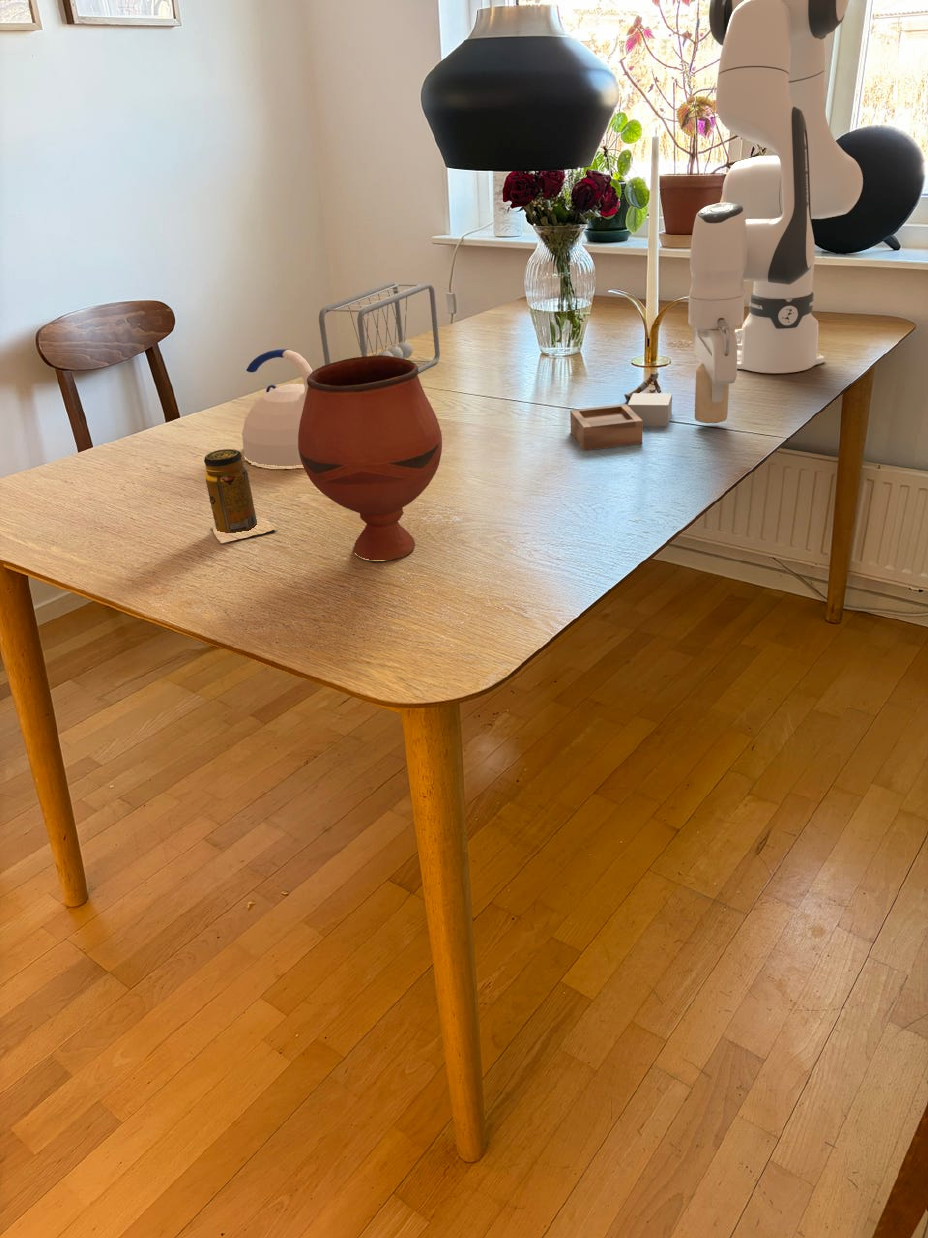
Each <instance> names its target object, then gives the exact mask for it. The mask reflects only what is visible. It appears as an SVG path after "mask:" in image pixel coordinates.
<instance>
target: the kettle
mask: <svg viewBox="0 0 928 1238" xmlns="http://www.w3.org/2000/svg"><path fill="white" fill-rule="evenodd" d="M276 358H281V359H282V358H283V359H284V358H285V359H287V360H290V361H291V362H292V363H293V364H294V365H295V366H296V368H297V369H298V371H299V372H300V375H301V377H302V380H303V383H289V384H288V383H287V384H284V385H281V386H280V385H279V386H278V387H277V386H276V385H274V384H271V385H269V386H267V387H266V389H265V391H266V392H265V393H264V394H263V395H262V396H261V397H260V398H259V399H258V400H257V401H256V402H254V404H253V405H252V407H251V409H250V411H249V412H248V413H247V415H246V417H245V420H244V423H243V429H242V433H241V437H242V448H243V455H244V456H245V457H246V458H247V459H248V460H250V461H252V462H256V463H258V464H264V465H265V464H266V465H275V466H276V465H277V466H294V465H295V466H296V465H303V464H302V462H301V459H300V455H299V450H298V432H299V424H300V420H301V415H302V411H303V407H304V402H305V398H306V394H307V389H308V385H307V378H308V376H309V375H310V374H311V373H312V372H313V371H314V370H313V369H312V368H311V366H310V364H309V363H308V361H307V360H306V359H305V358H304V357H303V356H302V355H301V354H300V353H299V352H296V351H292V350H290V349H285V348H284V349H283V348H282V349H274V350H269V351H266V352H264V353H262V354H260V355H258V356H257V357H256V358H254V359H253V360H252V361H251V362H250V363H249V365H248V367H247V368H246V372H248V373H255V372H257V371H258V369H259V368H260V367H261V366H262V364H263V363H265V362H267V361H269V360H272V359H276ZM244 456H243V457H244Z"/></svg>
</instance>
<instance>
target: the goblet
mask: <svg viewBox="0 0 928 1238" xmlns="http://www.w3.org/2000/svg"><path fill="white" fill-rule="evenodd" d="M409 360H410V359H407V358H406V359H403V358H398V357H392V356H385V355H378V354H376V355H374V356H372V355H367V356H365V357H362V356H355V357H350V358H346V359H342V360H339V361H334V362H332V363H331V362H330V364H328V365H325V364H324V365H322V366H320V367H318V368H316V369H315V370H312V371H313V372H312V373H311V374H310V375H309V376H308V378H307V385H308V389H307V394H306V398H305V402H304V407H303V411H302V415H301V420H300V424H299V432H298V450H299V455H300V459H301V462H302V464H303V467H304V468H303V469H304V471H305V473H306V475H307V477H308V478H309V480H310V482H311V483H312V484H313V485H314V487H316V489H317V490H319V491H320V493H322V494H323V495H324V496H325V497H327V498H328V499H330V500H331V501H332V502H334V503H336V504H338V505H339V506H341V507H343V508H345V509H348V510H349V511H351V512H354V513H358V514H359V517H360V520H362V521H363V522H365V524H366V525H365V526H364V528H363V530H362V531H361V533H360V534H359V535H358V537H357V539H356V540H355V542H354V545H353V549H354V550H353V552H355V553H356V554H357V555H358V556H360V557H362V558H365V559H369V560H388V561H393V560H392V559H394V560H397V559H396V558H398V559H401V558H403V556H404V557H406V556H408V555H409V554H410V552H411V551H412V550H413V549H414V550H415V546H416V543H415V539H414V538H413V536H412V535H411V534H410V532H408V531H407V530H406V528H404V526H402V525H401V524H400V522H399V521H400V519H401V518H402V516H403V515H404V513H405V512H404V509H403V508H404V507H406V506H408V505H409V504H410V503H412V502H414V501H415V500H416V499H417V498H418V497H420V496H421V494H422V493H423V492H424V491H425V490H426V488H427V487H428V486H429V485H430V483H431V481H432V480H433V478H434V476H435V475H436V472H437V471H438V469H439V466H440V461H441V457H442V452H443V435H442V430H441V428H440V427H441V426H440V424H439V421H438V417H437V415H436V414H435V410H434V409H433V407H432V404H431V403H430V401H429V399H428V397H427V396H426V393H425V391H424V388H423V386H422V384H421V380H420V377H419V375H418V374H419V373H418V365H417V363H416V362H411V361H409ZM414 550H413V551H414ZM413 551H412V552H413ZM412 552H411V553H412ZM355 553H354V554H355ZM407 554H408V555H407ZM405 555H406V556H405ZM358 556H357V557H358ZM400 557H401V558H400Z"/></svg>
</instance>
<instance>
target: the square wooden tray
mask: <svg viewBox="0 0 928 1238" xmlns="http://www.w3.org/2000/svg"><path fill="white" fill-rule="evenodd" d="M569 413H570V417H569V418H570V419H569V420H570V422H569V423H570V433H571V434H572V435H571V436H573V438H574V439H575V440H576V442H577V443H578V444H579V446H580V447H581V448H582V449H583V451H590V450H600V449H607V448H617V447H625V446H633V445H642V444H643V432H644V431H643V429H644V428H643V420H642V419H641V418H640V417H639V416H638V415H637V414H636V413H635V412H634V411H633V410H632V409H631V408H630V407H629V406H628V403H622V404H614V405H604V406H597V407H596V406H595V407H586V408H579V409H570V411H569Z"/></svg>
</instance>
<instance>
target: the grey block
mask: <svg viewBox="0 0 928 1238" xmlns="http://www.w3.org/2000/svg"><path fill="white" fill-rule="evenodd" d="M627 405H628V406H629V407H630V408H631V409H632V410H633V411H634V412H635V413H636V414H637V415H638V416H639V417H640V418H641V419H642V420H643V426H644V427H649V426H650V427H669V423H670V421H671V416H672V414H673V413H672V411H673V393H669V392H668V393H667V392H666V393H665V392H664V393H663V392H661V393H648V392H647V393H646V392H644V393H643V392H640V393H633V394H632V397H631V399H630V401H628V403H627Z"/></svg>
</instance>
